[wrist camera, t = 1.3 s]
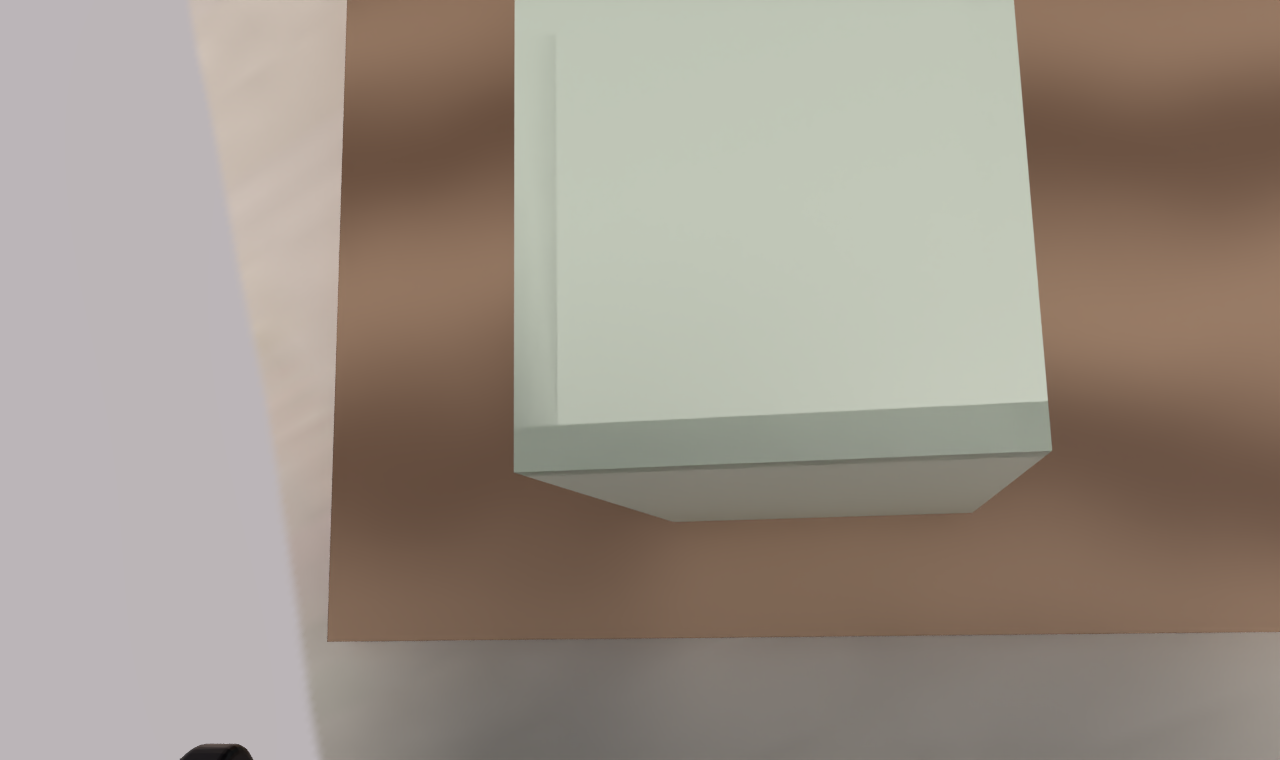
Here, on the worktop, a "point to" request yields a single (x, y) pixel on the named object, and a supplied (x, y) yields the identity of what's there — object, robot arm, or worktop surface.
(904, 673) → the worktop surface
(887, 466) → the pale green lidded box
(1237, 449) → the dock
